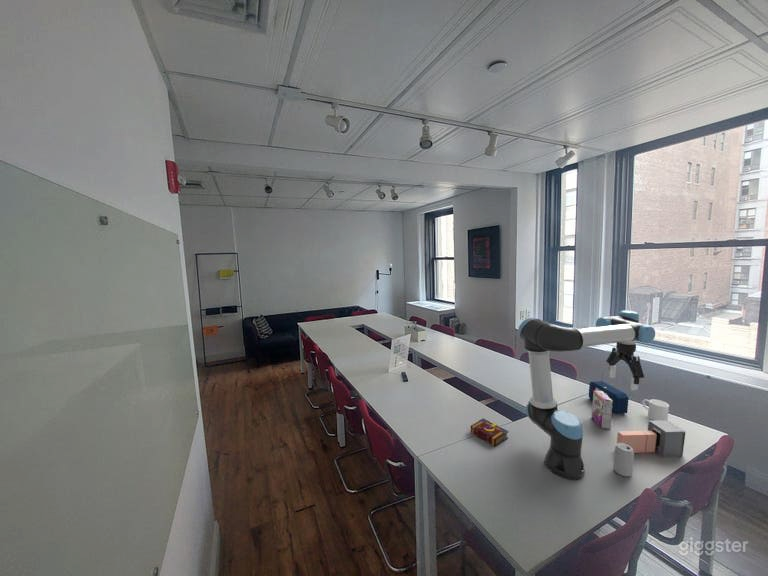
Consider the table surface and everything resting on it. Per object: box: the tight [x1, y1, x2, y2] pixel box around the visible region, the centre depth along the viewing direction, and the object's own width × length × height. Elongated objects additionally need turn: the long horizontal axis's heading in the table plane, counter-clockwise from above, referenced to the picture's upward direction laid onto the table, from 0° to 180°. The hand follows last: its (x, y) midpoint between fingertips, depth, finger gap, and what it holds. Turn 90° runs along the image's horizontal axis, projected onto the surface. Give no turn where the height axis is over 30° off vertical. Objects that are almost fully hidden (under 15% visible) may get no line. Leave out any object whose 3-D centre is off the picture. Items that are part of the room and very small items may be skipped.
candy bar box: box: [591, 390, 613, 430], centre depth 165 cm, size 11×5×16 cm, turn 168°
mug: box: [641, 399, 670, 421], centre depth 170 cm, size 8×12×10 cm
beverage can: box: [612, 442, 635, 477], centre depth 130 cm, size 6×6×12 cm
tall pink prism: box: [616, 430, 657, 454], centre depth 143 cm, size 16×3×9 cm, turn 91°
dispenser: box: [647, 420, 687, 458], centre depth 143 cm, size 9×9×12 cm
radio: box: [588, 371, 630, 415], centre depth 182 cm, size 21×9×20 cm, turn 6°
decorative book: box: [470, 417, 509, 447], centre depth 157 cm, size 11×16×5 cm
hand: (622, 383), depth 151 cm, fingers open, 13 cm apart
